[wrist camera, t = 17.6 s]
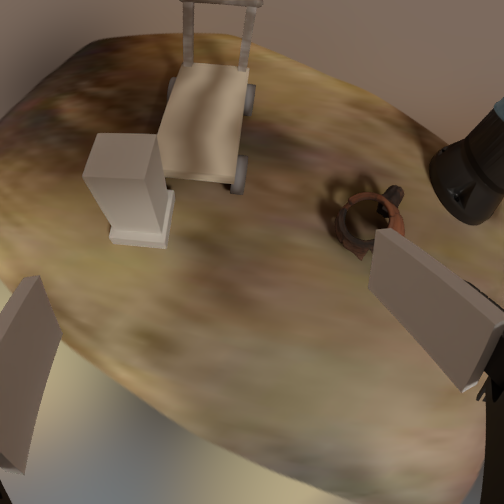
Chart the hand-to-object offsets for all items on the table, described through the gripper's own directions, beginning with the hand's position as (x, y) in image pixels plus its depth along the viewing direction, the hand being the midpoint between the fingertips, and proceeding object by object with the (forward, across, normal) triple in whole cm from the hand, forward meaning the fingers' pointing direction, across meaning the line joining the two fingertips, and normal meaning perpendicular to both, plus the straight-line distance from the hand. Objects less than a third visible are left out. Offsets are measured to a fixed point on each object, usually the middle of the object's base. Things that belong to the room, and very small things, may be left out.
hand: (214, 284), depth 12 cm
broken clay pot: (+26, +23, -11) cm, 36 cm away
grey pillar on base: (+29, -6, -7) cm, 31 cm away
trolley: (+37, +3, +1) cm, 38 cm away
